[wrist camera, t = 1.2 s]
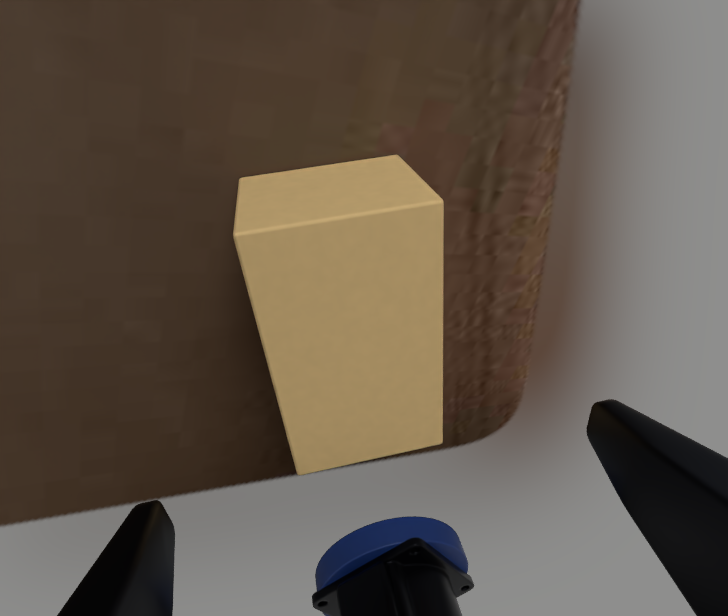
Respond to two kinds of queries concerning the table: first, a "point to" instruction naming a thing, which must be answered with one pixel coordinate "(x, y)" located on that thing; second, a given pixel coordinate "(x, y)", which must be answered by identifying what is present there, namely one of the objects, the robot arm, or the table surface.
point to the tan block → (347, 305)
